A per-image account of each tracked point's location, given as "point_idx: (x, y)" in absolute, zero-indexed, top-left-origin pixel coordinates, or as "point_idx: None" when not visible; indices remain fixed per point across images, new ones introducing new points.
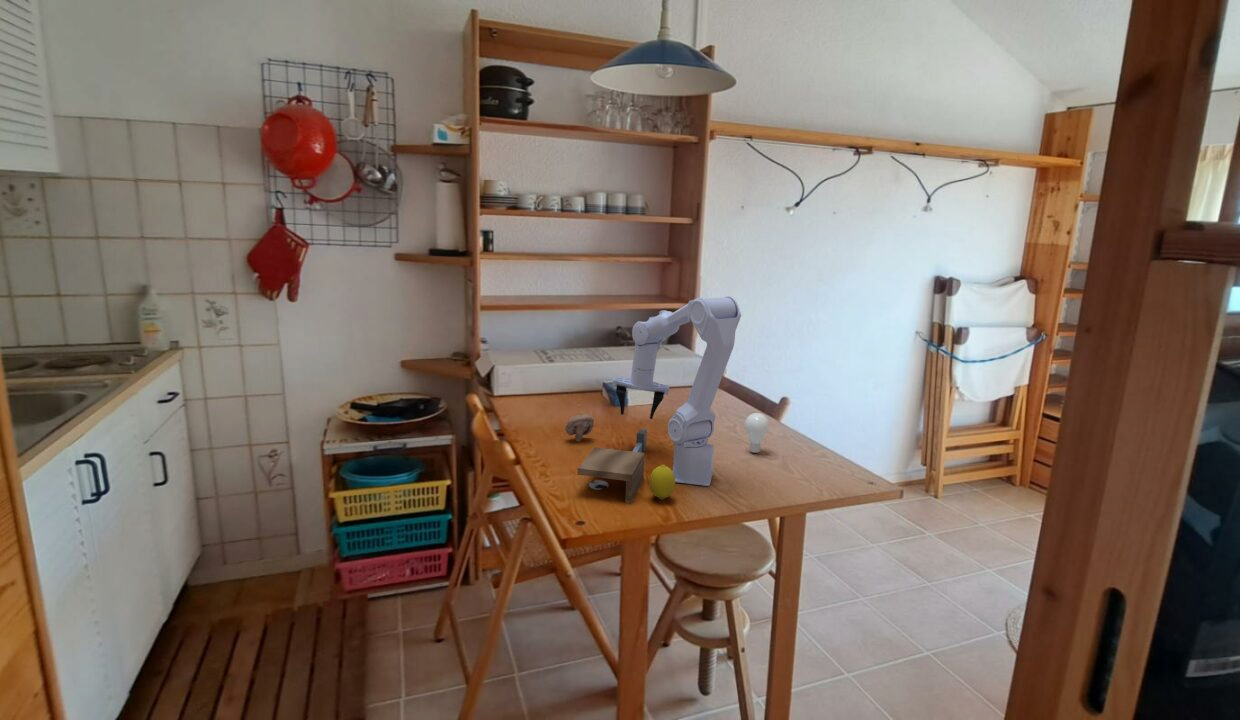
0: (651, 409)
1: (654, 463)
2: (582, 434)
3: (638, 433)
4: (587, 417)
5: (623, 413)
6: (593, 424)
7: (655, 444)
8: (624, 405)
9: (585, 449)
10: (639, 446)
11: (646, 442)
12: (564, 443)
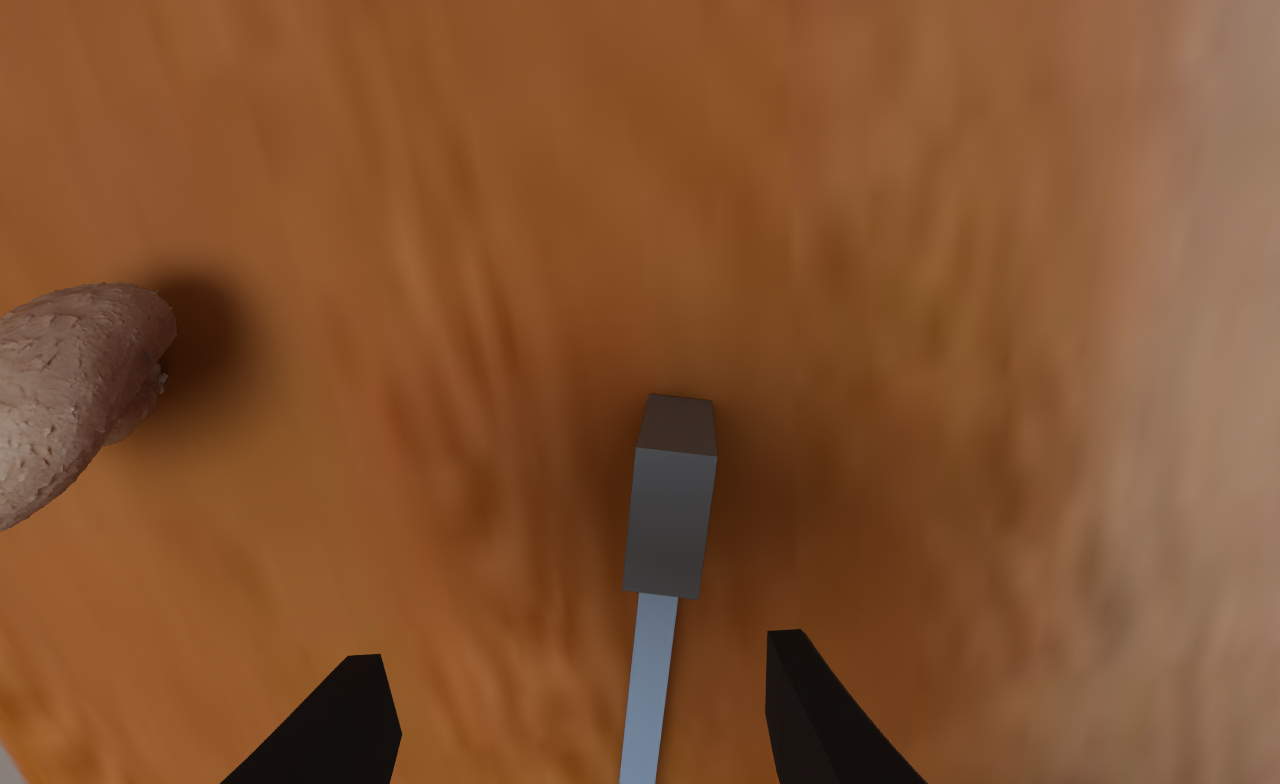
0: (801, 760)
1: None
2: (140, 415)
3: (639, 588)
4: (13, 507)
5: (393, 714)
6: (137, 341)
7: (788, 307)
8: (333, 739)
9: (272, 531)
10: (667, 629)
11: (712, 413)
12: None
